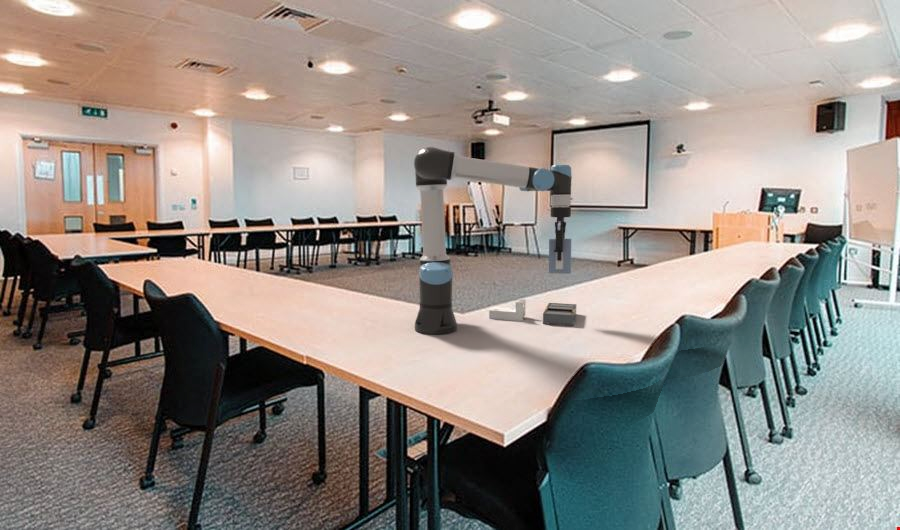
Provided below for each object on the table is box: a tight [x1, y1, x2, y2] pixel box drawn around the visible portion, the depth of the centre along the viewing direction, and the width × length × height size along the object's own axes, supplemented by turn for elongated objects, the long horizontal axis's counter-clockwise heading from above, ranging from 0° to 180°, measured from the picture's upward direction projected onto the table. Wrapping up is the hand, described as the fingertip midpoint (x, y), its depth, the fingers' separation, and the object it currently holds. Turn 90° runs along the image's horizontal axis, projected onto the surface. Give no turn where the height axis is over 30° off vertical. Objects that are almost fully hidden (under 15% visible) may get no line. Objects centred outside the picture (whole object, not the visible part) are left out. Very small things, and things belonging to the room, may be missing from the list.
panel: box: [548, 238, 572, 275], centre depth 204 cm, size 8×4×13 cm, turn 73°
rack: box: [542, 302, 577, 327], centre depth 210 cm, size 11×21×4 cm, turn 164°
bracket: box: [488, 298, 527, 322], centre depth 211 cm, size 13×7×8 cm, turn 72°
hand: (559, 268), depth 205 cm, fingers closed on panel, 3 cm apart
